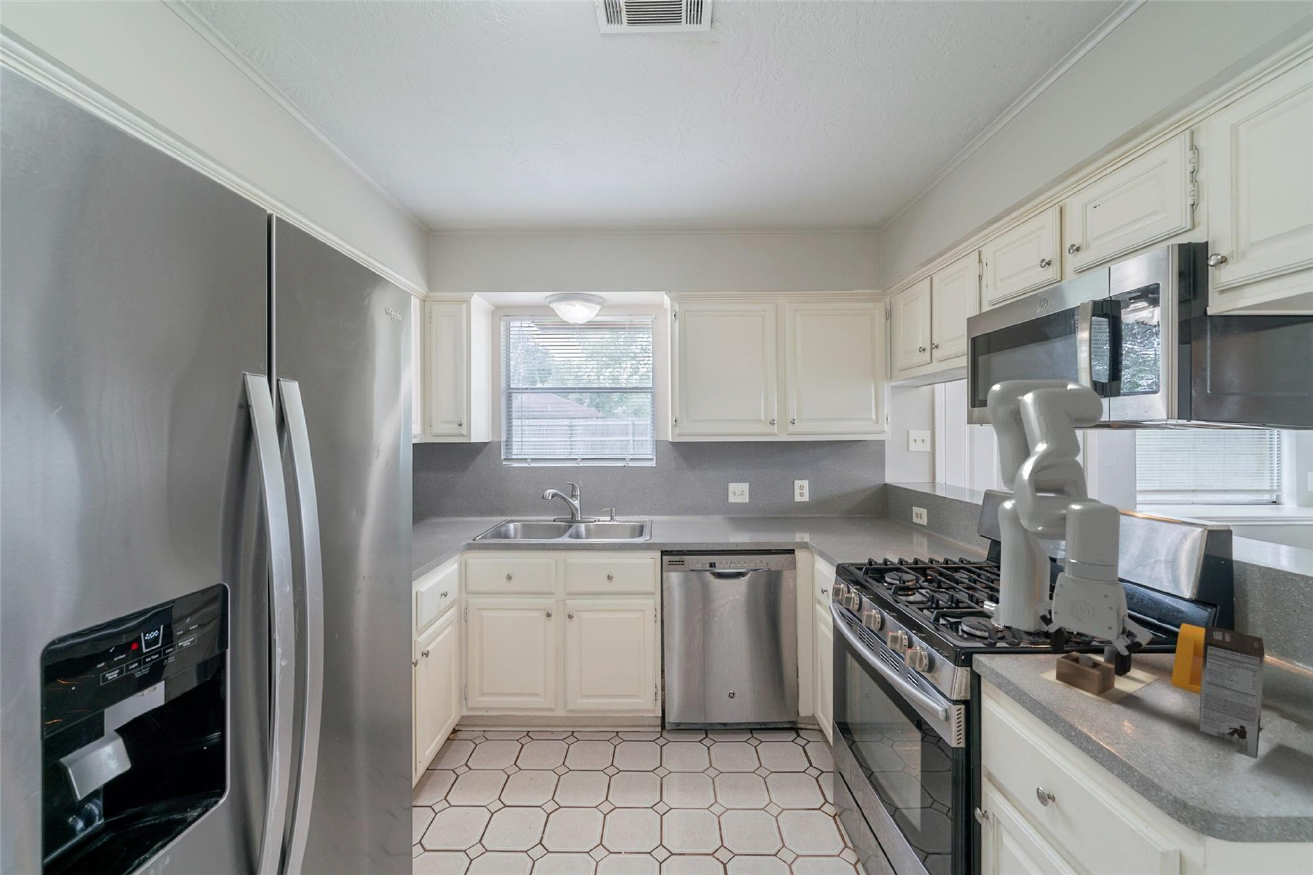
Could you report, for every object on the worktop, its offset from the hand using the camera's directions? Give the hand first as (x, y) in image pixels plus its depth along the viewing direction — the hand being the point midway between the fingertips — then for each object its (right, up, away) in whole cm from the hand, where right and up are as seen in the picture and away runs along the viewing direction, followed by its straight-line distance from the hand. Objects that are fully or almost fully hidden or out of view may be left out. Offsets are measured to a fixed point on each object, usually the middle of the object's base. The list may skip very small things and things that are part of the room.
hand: (1088, 663), depth 95 cm
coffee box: (+12, -7, -12) cm, 18 cm away
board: (+5, -6, +4) cm, 8 cm away
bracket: (+22, -6, +1) cm, 23 cm away
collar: (0, -4, +1) cm, 4 cm away
